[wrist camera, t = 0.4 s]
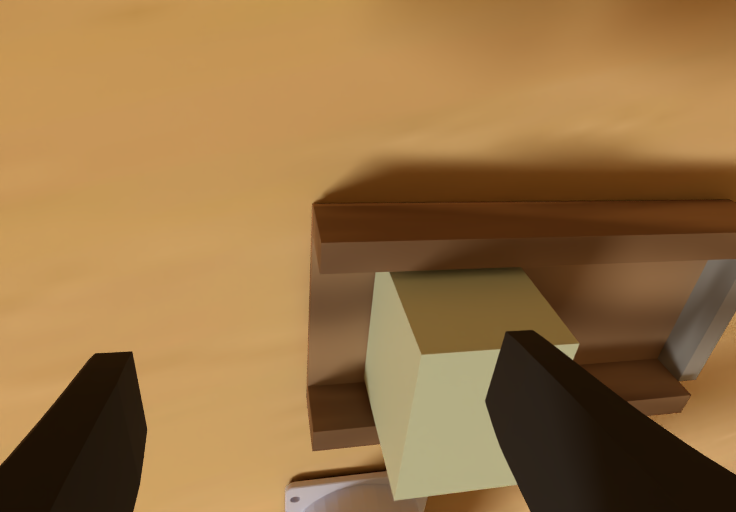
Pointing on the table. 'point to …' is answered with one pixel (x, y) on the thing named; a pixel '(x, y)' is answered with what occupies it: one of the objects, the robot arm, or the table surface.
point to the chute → (547, 272)
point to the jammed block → (446, 372)
